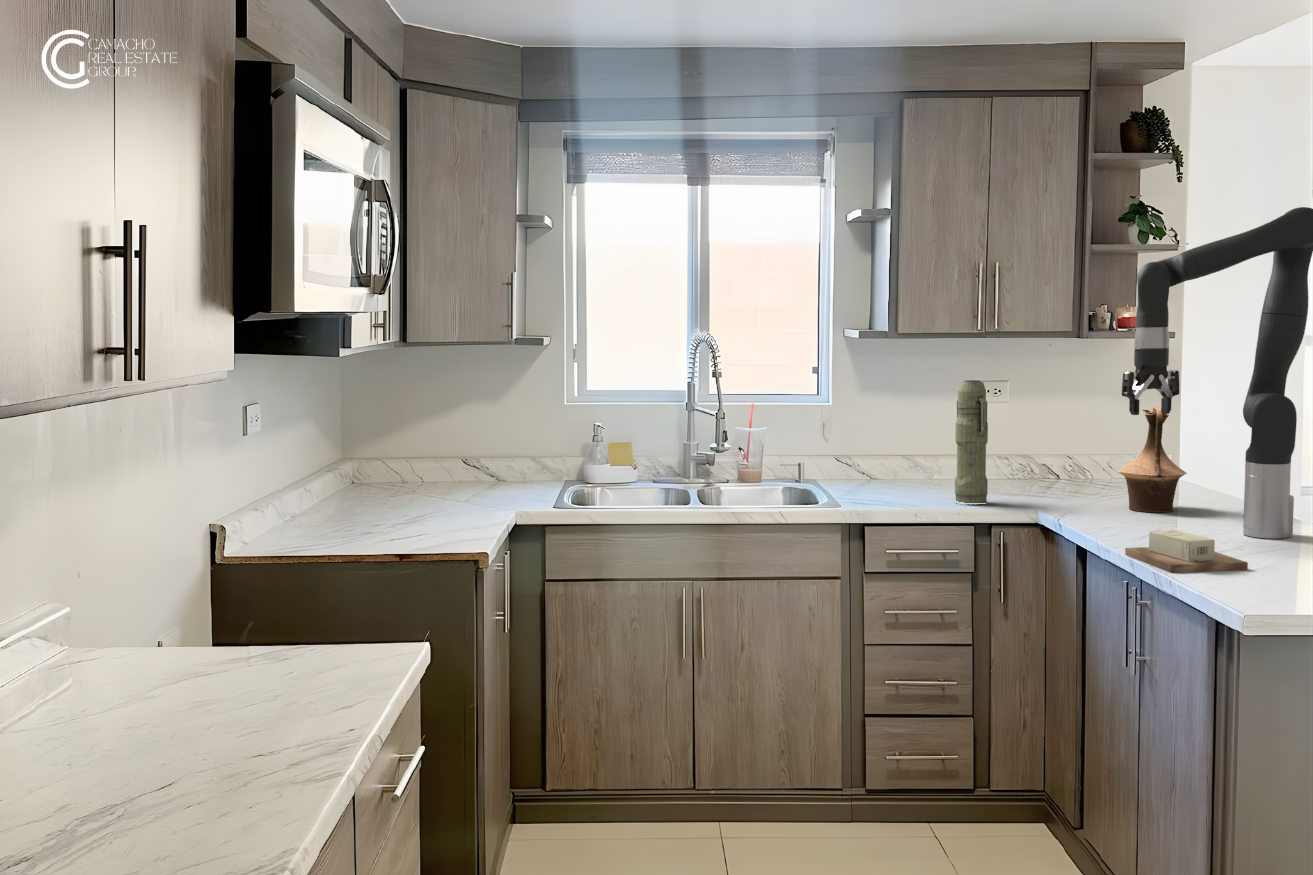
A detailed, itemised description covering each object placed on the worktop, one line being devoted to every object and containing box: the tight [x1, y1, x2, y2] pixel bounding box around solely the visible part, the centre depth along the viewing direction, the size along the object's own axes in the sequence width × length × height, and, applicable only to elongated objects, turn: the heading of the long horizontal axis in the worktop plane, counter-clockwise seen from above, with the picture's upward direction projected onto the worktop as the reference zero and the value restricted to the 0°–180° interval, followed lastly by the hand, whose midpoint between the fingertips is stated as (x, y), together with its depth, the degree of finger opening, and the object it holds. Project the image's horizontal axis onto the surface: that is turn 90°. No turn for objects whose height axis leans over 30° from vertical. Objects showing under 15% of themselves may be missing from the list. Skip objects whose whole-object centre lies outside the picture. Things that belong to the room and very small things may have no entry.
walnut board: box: [1124, 546, 1249, 573], centre depth 225 cm, size 16×18×2 cm
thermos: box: [954, 379, 989, 503], centre depth 308 cm, size 9×12×35 cm
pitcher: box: [1117, 406, 1187, 513], centre depth 290 cm, size 18×17×28 cm
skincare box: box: [1148, 529, 1216, 562], centre depth 224 cm, size 6×4×12 cm
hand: (1150, 414), depth 260 cm, fingers open, 8 cm apart
